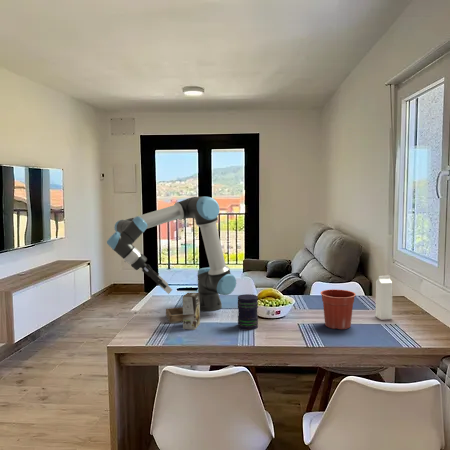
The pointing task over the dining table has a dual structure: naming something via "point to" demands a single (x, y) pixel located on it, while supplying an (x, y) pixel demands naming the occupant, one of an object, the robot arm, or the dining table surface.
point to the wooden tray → (174, 315)
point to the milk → (384, 298)
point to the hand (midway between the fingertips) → (168, 288)
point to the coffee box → (191, 311)
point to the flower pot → (338, 308)
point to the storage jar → (247, 312)
